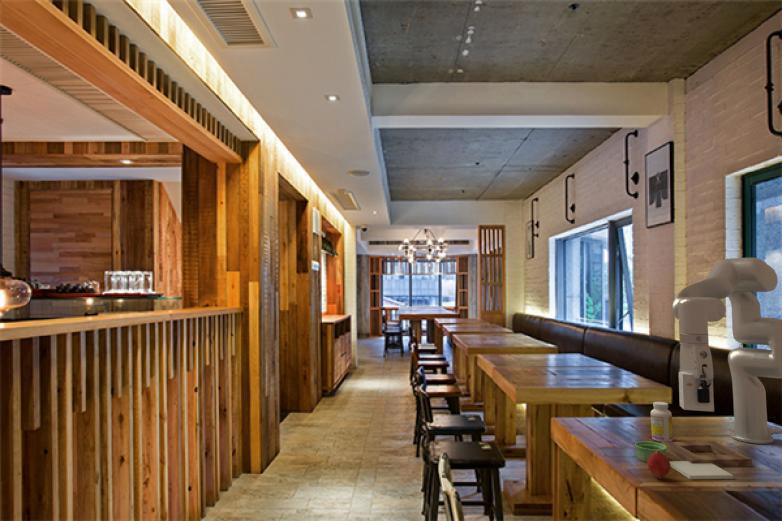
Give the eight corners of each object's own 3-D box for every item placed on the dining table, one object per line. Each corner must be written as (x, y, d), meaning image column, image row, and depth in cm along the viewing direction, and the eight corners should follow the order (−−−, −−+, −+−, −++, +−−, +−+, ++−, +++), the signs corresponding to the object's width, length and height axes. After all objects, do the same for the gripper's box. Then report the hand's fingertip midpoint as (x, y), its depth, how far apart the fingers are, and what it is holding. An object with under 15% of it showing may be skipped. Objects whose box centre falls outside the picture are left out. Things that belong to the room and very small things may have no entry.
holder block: (715, 447, 172) (715, 441, 173) (752, 466, 154) (751, 459, 155) (660, 448, 173) (660, 442, 173) (691, 466, 155) (691, 459, 155)
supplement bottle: (668, 437, 185) (666, 401, 185) (676, 443, 178) (674, 405, 179) (648, 437, 185) (647, 400, 186) (656, 442, 179) (654, 405, 179)
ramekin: (670, 465, 156) (669, 450, 157) (637, 462, 159) (636, 448, 159) (664, 456, 165) (663, 442, 165) (633, 454, 168) (632, 440, 168)
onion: (643, 475, 149) (642, 446, 149) (662, 474, 149) (661, 445, 150) (655, 482, 143) (654, 453, 143) (675, 481, 143) (674, 452, 144)
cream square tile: (707, 464, 157) (707, 460, 157) (733, 478, 145) (732, 475, 145) (667, 464, 157) (667, 461, 157) (689, 479, 145) (689, 475, 145)
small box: (709, 408, 155) (708, 372, 156) (714, 412, 150) (713, 375, 151) (679, 406, 158) (678, 371, 158) (683, 409, 152) (682, 373, 153)
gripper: (724, 342, 146) (727, 406, 145) (690, 336, 164) (692, 394, 162) (697, 342, 146) (700, 406, 145) (666, 337, 164) (668, 394, 163)
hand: (696, 399), depth 154 cm, fingers closed on small box, 6 cm apart
